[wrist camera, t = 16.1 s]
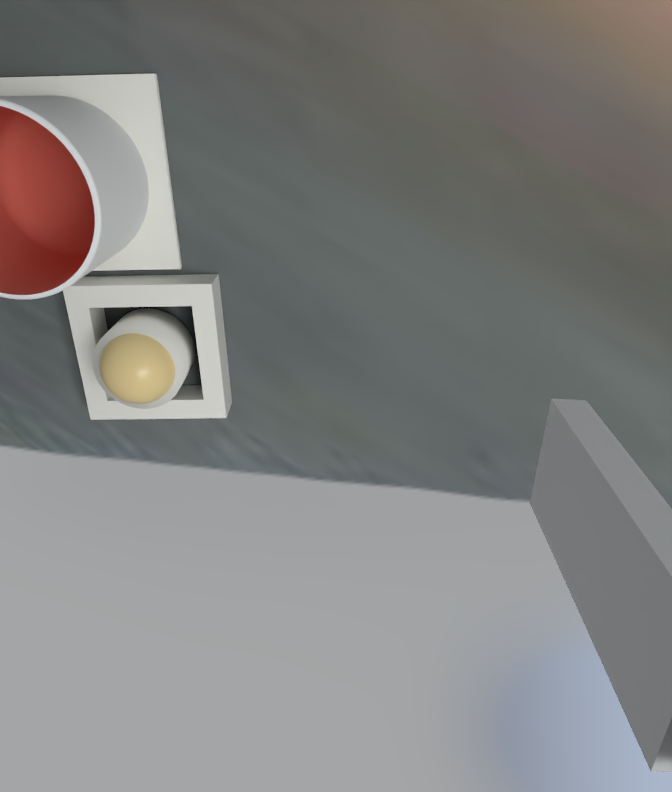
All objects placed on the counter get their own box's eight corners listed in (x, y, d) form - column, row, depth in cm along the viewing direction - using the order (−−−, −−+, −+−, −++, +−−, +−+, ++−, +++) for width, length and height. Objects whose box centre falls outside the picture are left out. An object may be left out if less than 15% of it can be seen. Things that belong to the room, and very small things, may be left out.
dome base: (76, 276, 44) (62, 286, 42) (218, 273, 44) (211, 283, 42) (102, 404, 49) (90, 419, 46) (232, 402, 48) (226, 417, 46)
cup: (25, 262, 44) (-59, 306, 35) (-22, 102, 39) (-133, 106, 30) (167, 251, 43) (120, 293, 34) (136, 88, 39) (71, 87, 30)
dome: (103, 309, 44) (71, 338, 39) (189, 307, 44) (168, 336, 39) (118, 387, 47) (89, 424, 41) (199, 386, 47) (180, 423, 41)
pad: (-37, 78, 39) (-40, 78, 39) (156, 73, 39) (155, 73, 38) (11, 270, 44) (8, 272, 44) (182, 267, 44) (180, 269, 44)
